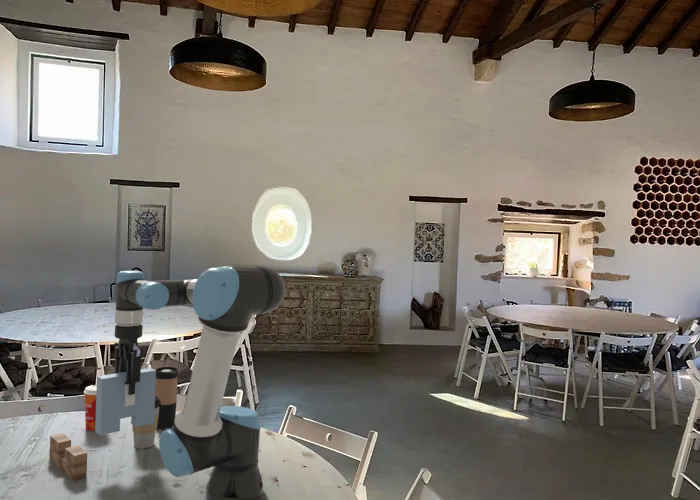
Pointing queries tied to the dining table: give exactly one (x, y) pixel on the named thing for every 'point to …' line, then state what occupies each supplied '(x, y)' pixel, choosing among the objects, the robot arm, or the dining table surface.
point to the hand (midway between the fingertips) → (126, 403)
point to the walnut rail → (68, 457)
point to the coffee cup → (147, 430)
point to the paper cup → (90, 407)
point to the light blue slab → (113, 401)
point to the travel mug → (166, 395)
